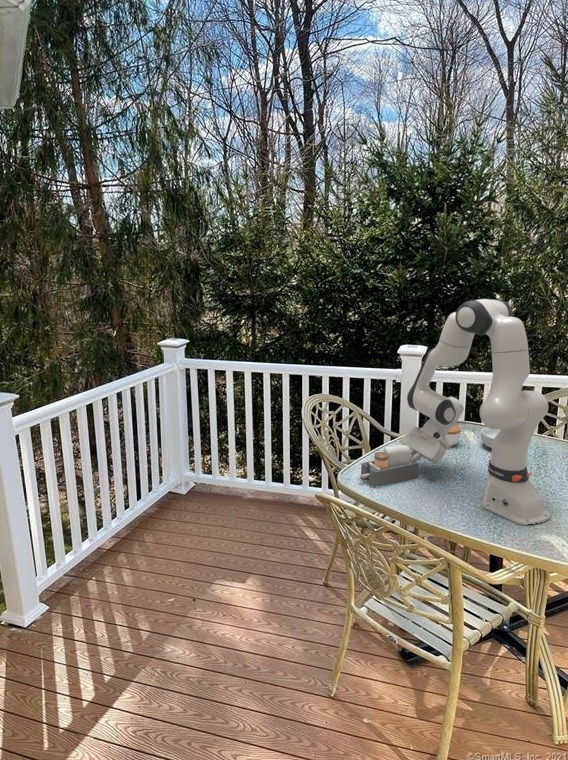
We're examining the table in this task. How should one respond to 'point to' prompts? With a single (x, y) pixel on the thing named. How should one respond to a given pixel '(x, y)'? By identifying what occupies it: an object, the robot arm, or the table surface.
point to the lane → (390, 474)
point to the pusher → (369, 470)
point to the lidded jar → (453, 435)
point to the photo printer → (398, 455)
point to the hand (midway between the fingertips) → (409, 461)
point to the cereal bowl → (489, 435)
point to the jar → (381, 460)
